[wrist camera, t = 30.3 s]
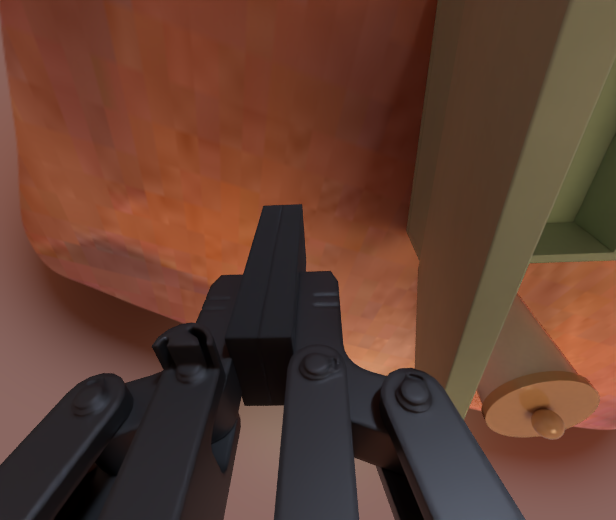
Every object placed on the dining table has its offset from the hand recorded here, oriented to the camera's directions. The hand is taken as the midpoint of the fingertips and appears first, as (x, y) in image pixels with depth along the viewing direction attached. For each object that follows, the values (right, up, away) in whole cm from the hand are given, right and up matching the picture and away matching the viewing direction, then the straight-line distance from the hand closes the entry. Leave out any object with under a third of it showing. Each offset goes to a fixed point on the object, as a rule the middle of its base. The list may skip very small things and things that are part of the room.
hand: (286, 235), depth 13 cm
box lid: (+8, +1, +1) cm, 8 cm away
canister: (+19, -4, +23) cm, 30 cm away
